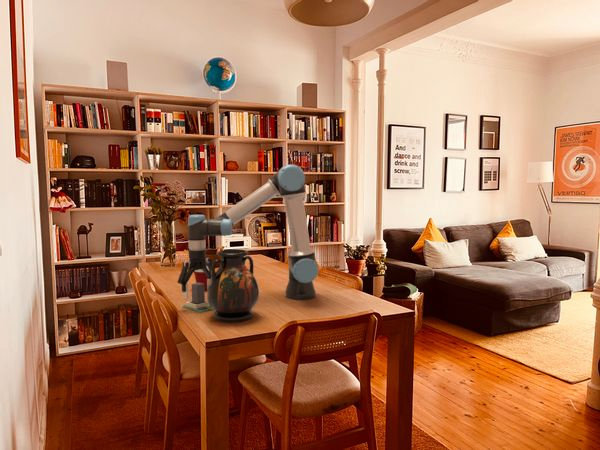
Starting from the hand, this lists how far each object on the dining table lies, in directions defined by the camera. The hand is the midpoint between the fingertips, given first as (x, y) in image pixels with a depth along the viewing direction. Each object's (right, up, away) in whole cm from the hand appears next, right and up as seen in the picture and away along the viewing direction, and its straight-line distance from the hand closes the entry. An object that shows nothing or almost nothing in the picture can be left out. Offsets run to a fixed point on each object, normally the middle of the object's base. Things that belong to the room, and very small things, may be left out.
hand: (198, 295), depth 202 cm
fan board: (+1, -5, -1) cm, 5 cm away
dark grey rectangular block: (0, -5, 0) cm, 4 cm away
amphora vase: (+18, -7, -15) cm, 25 cm away
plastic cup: (-4, -2, +31) cm, 31 cm away
